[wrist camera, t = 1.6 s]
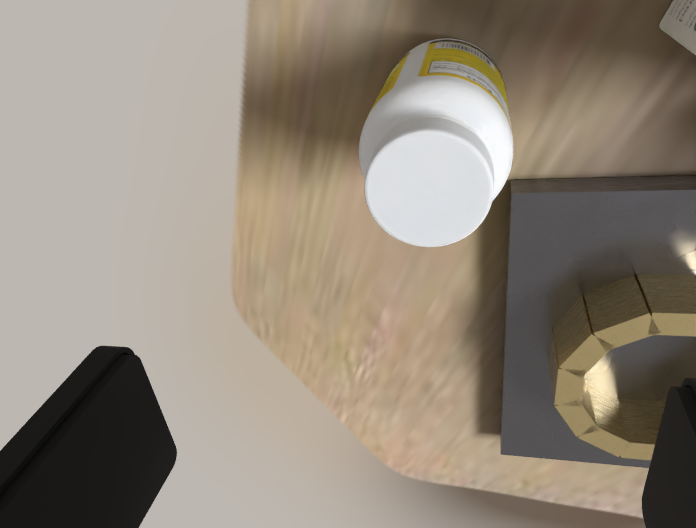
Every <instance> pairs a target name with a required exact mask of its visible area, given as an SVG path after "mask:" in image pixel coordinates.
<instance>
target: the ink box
mask: <svg viewBox="0 0 696 528" xmlns="http://www.w3.org/2000/svg"><path fill="white" fill-rule="evenodd" d="M659 28H660V29H661V30H662V31H664V32H665V33H666V34H668V35H669V36H671V37H672V38H673V39H675V40H676V41H677V42H678V43H680V44H681V45H682V46H684V47H685V48H686V49H688V50H689V51H690V52H692V53H693V54H695V55H696V0H673V2H672V4H671V5H670V7H669V8H668V10H667V12H666V13H665V15H664V17H663V18H662V20H661V22H660V23H659Z"/></svg>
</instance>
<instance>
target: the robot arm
mask: <svg viewBox="0 0 696 528" xmlns="http://www.w3.org/2000/svg"><path fill="white" fill-rule="evenodd" d="M176 456H177V450H176V446H175V444H174V441H173V438H172V436H171V434H170V431H169V429H168V426H167V424H166V421H165V419H164V416H163V414H162V411H161V409H160V406H159V404H158V401H157V399H156V396H155V394H154V391H153V389H152V386H151V384H150V381H149V379H148V376H147V374H146V371H145V369H144V367H143V364H142V362H141V360H140V358H139V357H138V356H137V355H135V354H134V352H133V351H132V350H131V349H130V348H128V347H115V346H114V347H113V346H99V347H96V348H95V349H94V350H93V351H92V352H91V353H90V354H89V355H88V356H87V357H86V358H85V359H84V360H83V362H82V363H81V364H80V365H79V366H78V367H77V368H76V369H75V370H74V371H73V372H72V374H71V375H70V376H69V377H68V378H67V379H66V380H65V381H64V382H63V383H62V384H61V386H60V387H59V388H58V389H57V390H56V391H55V392H54V393H53V394H52V395H51V396H50V397H49V399H48V400H47V401H46V402H45V403H44V404H43V405H42V406H41V407H40V408H39V410H37V412H36V413H35V414H34V415H33V416H32V417H31V418H30V419H29V420H28V421H27V422H26V424H25V425H24V426H23V427H22V428H21V429H20V430H19V431H18V432H17V434H16V435H15V436H14V437H13V438H12V439H11V440H10V441H9V442H8V443H7V444H6V445H5V446H4V447H3V449H2V450H1V451H0V528H139V526H140V524H141V522H142V521H143V518H144V517H145V515H146V513H147V512H148V510H149V508H150V507H151V505H152V503H153V501H154V500H155V498H156V496H157V494H158V493H159V491H160V489H161V487H162V485H163V484H164V482H165V480H166V479H167V477H168V475H169V473H170V472H171V470H172V468H173V466H174V464H175V461H176ZM642 511H643V518H644V522H645V525H646V528H696V378H685V379H684V380H683V382H682V385H681V387H675V386H672V387H671V388H670V389H669V391H668V395H667V399H666V403H665V407H664V411H663V415H662V419H661V423H660V427H659V431H658V435H657V439H656V443H655V447H654V451H653V455H652V459H651V463H650V467H649V471H648V475H647V479H646V483H645V487H644V491H643V496H642Z"/></svg>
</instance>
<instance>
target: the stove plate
mask: <svg viewBox="0 0 696 528" xmlns="http://www.w3.org/2000/svg"><path fill="white" fill-rule="evenodd" d="M685 378H696V175H685V176H644V177H603V178H563V179H522V180H510V205H509V230H508V255H507V280H506V305H505V330H504V355H503V380H502V404H501V429H500V445H501V454H503V455H513V456H524V457H535V458H546V459H557V460H568V461H579V462H590V463H601V464H612V465H622V466H633V467H644V468H649V467H650V463H651V459H652V455H653V451H654V447H655V443H656V439H657V435H658V431H659V427H660V423H661V419H662V415H663V411H664V407H665V403H666V399H667V395H668V391H669V389H670V388H671V387H672V386H675V387H681V385H682V382H683V380H684V379H685Z"/></svg>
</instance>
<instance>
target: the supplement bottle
mask: <svg viewBox="0 0 696 528" xmlns="http://www.w3.org/2000/svg"><path fill="white" fill-rule="evenodd" d="M512 160H513V135H512V129H511V122H510V115H509V108H508V102H507V95H506V88H505V84H504V81H503V78H502V76H501V73H500V71H499V69H498V67H497V66H496V64H495V63H494V61H493V60H492V59H491V57H490V56H489V55H488V54H487V53H485V52H484V51H483V50H482V49H480V48H479V47H477V46H475V45H473V44H471V43H469V42H466V41H463V40H458V39H452V38H444V39H435V40H431V41H428V42H425V43H422V44H420V45H418V46H416V47H415V48H413V49H412V50H410V51H409V52H408V53H407V54H405V55H404V56H403V57H402V58H401V59H400V60H399V61H398V63H397V64H396V65H395V67H394V68H393V70H392V71H391V73H390V75H389V77H388V78H387V80H386V82H385V84H384V86H383V88H382V90H381V92H380V94H379V95H378V97H377V99H376V101H375V103H374V105H373V107H372V109H371V110H370V112H369V114H368V117H367V119H366V121H365V124H364V127H363V129H362V133H361V137H360V142H359V161H360V167H361V171H362V174H363V177H364V179H365V183H364V192H365V199H366V202H367V206H368V208H369V210H370V213H371V214H372V216H373V218H374V219H375V221H376V222H377V223H378V224H379V225H380V227H381V228H382V229H384V230H385V231H386V232H387V233H388V234H390V235H391V236H393V237H394V238H396V239H398V240H400V241H403V242H405V243H408V244H411V245H416V246H422V247H438V246H444V245H448V244H451V243H454V242H457V241H459V240H461V239H463V238H465V237H467V236H468V235H470V234H471V233H472V232H473V231H474V230H476V229H477V228H478V226H479V225H480V224H481V223H482V222H483V220H484V219H485V217H486V216H487V214H488V212H489V210H490V207H491V204H492V201H493V200H494V199H495V198H496V196H497V195H498V194H499V192H500V191H501V190H502V188H503V186H504V184H505V182H506V180H507V178H508V175H509V173H510V169H511V166H512Z"/></svg>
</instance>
